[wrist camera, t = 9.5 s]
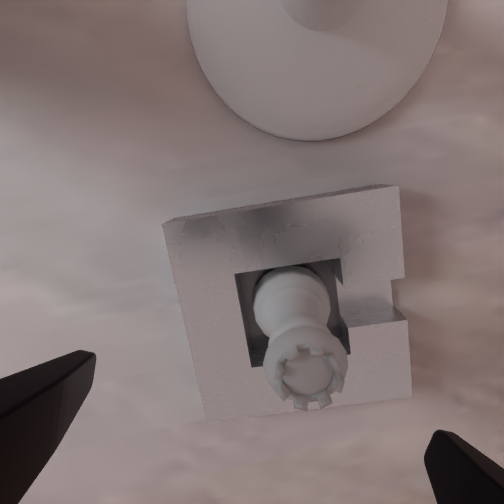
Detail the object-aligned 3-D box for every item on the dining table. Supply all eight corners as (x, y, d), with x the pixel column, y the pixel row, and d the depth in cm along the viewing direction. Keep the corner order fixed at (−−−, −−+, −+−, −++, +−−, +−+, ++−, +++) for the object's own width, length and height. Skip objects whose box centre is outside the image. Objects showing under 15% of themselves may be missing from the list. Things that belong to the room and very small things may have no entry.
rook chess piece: (240, 278, 19) (227, 347, 11) (312, 251, 19) (349, 304, 11) (268, 343, 20) (272, 448, 12) (337, 319, 20) (388, 412, 12)
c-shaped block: (212, 396, 22) (206, 422, 19) (173, 218, 19) (161, 223, 17) (395, 372, 21) (412, 396, 18) (381, 184, 18) (398, 185, 16)
